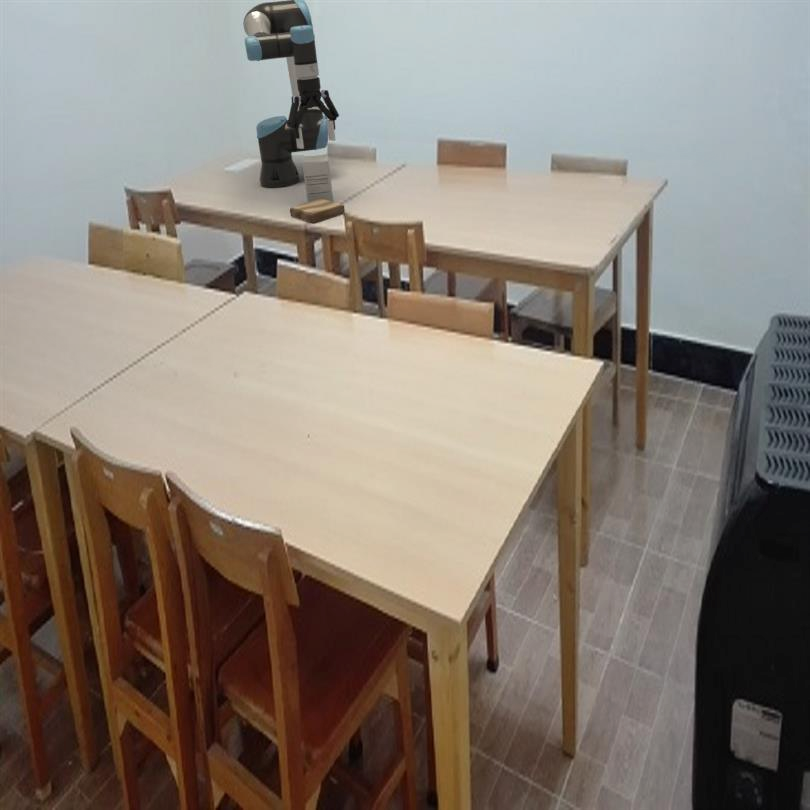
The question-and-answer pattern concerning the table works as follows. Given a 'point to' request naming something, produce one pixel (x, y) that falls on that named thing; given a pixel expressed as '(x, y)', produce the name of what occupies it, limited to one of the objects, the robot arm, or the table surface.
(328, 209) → the walnut base
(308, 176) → the supplement box
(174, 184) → the table surface
